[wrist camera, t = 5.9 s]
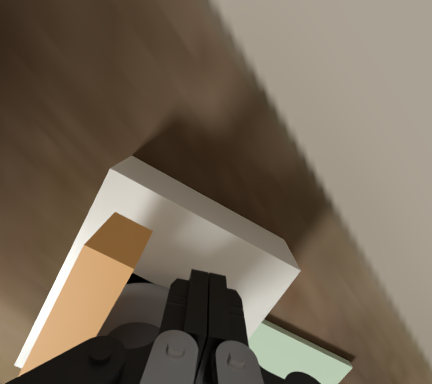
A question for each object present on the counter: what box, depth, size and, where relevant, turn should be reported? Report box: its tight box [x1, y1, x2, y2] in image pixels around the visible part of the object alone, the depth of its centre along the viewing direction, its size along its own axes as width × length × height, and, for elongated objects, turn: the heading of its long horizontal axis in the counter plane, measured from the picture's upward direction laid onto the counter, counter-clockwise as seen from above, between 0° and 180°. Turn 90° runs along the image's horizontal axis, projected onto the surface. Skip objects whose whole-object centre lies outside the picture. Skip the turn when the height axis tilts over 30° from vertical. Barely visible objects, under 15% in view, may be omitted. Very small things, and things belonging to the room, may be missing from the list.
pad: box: [248, 319, 353, 384], centre depth 24 cm, size 9×9×1 cm
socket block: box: [15, 156, 301, 368], centre depth 18 cm, size 15×12×6 cm
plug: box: [96, 274, 169, 349], centre depth 14 cm, size 7×7×14 cm
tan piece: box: [18, 212, 153, 377], centre depth 12 cm, size 14×3×4 cm, turn 150°
